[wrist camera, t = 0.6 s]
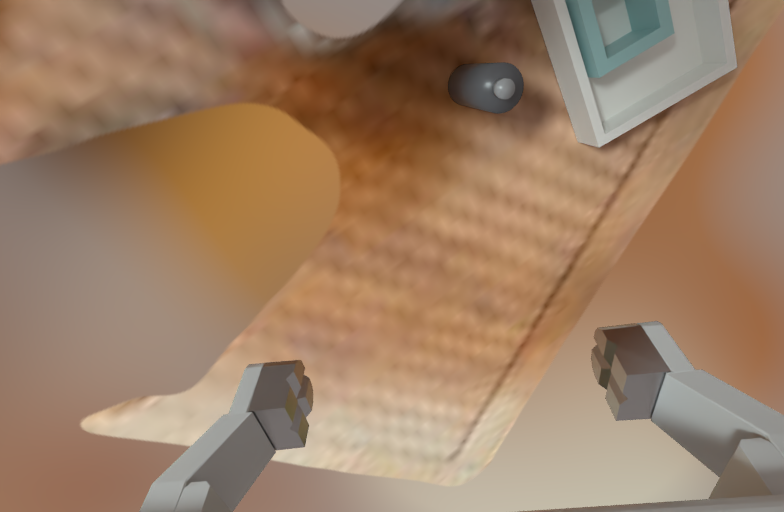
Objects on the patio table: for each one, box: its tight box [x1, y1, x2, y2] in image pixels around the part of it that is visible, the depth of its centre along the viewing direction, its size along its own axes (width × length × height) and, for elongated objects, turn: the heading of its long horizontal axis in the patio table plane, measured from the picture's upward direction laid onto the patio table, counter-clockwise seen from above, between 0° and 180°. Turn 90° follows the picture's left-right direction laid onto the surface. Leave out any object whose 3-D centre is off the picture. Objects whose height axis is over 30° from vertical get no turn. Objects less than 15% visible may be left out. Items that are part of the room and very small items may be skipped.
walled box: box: [531, 0, 737, 148], centre depth 41 cm, size 22×16×5 cm
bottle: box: [448, 63, 524, 113], centre depth 39 cm, size 4×4×10 cm
